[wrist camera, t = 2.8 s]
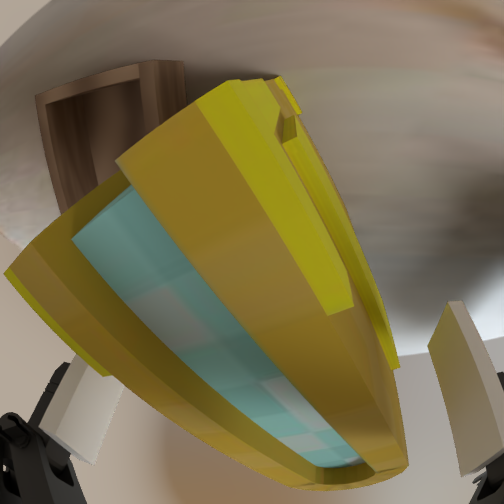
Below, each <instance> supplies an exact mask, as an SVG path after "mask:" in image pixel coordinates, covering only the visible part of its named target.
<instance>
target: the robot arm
mask: <svg viewBox="0 0 504 504" xmlns="http://www.w3.org/2000/svg"><path fill="white" fill-rule="evenodd" d="M427 347H428V350H429V353H430V355H431V359H432V362H433V365H434V368H435V371H436V374H437V377H438V381H439V384H440V387H441V391H442V394H443V398H444V402H445V405H446V409H447V413H448V417H449V421H450V425H451V429H452V434H453V438H454V443H455V448H456V453H457V457H458V463H459V468H460V474H461V477H464V476H467V475H470V474H473V473H476V472H478V471H480V470H481V469H483V468H484V467H486V472H484V473H482V474H481V475H479V476H478V477H477V478H475V479H474V481H473V484H474V483H476V482H478V481H479V480H481V481H480V482H479V483H478V484H477V485H478V487H477V489H476V491H475V493H474V495H473V497H472V499H471V501H470V503H469V504H504V373H503V372H499V373H496V371H495V368H494V366H493V364H492V361H491V359H490V357H489V354H488V352H487V350H486V348H485V346H484V343H483V341H482V339H481V337H480V335H479V333H478V331H477V329H476V327H475V325H474V323H473V321H472V319H471V317H470V315H469V313H468V311H467V309H466V307H465V305H464V303H463V301H448V302H447V304H446V307H445V309H444V311H443V314H442V316H441V318H440V320H439V323H438V325H437V327H436V329H435V331H434V333H433V335H432V337H431V340H430V342H429V344H428V346H427ZM124 387H125V385H123V384H122V383H121V382H120V381H119V380H117V379H116V378H115V377H114V376H113V375H112V376H106V377H102V376H101V375H100V374H99V373H97V372H96V371H95V370H94V369H93V368H92V367H91V366H89V365H88V364H87V363H86V362H85V361H84V360H83V359H82V358H81V357H80V356H78V355H77V354H76V355H75V357H74V358H73V360H72V362H71V363H67V362H64V363H63V364H62V365H61V366H60V367H58V368H57V369H56V370H55V372H54V374H53V376H52V377H51V379H50V383H48V385H47V387H46V388H45V392H43V394H42V396H41V398H40V400H39V402H38V404H37V406H36V408H35V410H34V412H33V414H32V416H31V418H30V420H29V421H28V423H26V422H25V421H24V420H23V419H22V418H21V417H20V416H19V415H18V414H16V413H13V412H9V413H6V414H4V415H3V416H2V417H1V418H0V504H87V502H86V500H85V497H84V495H83V492H82V490H81V487H80V484H79V482H78V479H77V476H76V473H75V470H74V467H73V464H72V462H71V460H70V458H69V457H70V454H72V455H73V456H75V457H76V458H77V459H79V460H81V461H84V462H86V463H89V464H92V465H95V462H96V459H97V457H98V454H99V451H100V448H101V445H102V443H103V440H104V437H105V435H106V432H107V429H108V427H109V424H110V422H111V419H112V417H113V414H114V412H115V409H116V406H117V404H118V401H119V399H120V396H121V394H122V392H123V389H124ZM3 465H5V466H6V471H3Z"/></svg>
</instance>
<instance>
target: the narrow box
mask: <svg viewBox="0 0 504 504" xmlns="http://www.w3.org/2000/svg"><path fill="white" fill-rule="evenodd" d="M35 100H36V107H37V114H38V120H39V125H40V131H41V136H42V141H43V146H44V151H45V155H46V160H47V164H48V168H49V172H50V176H51V180H52V184H53V188H54V191H55V195H56V199H57V202H58V205H59V209H60V212H61V215H62V214H63V213H64V212H66V211H67V210H68V209H69V208H70V207H72V206H73V205H74V204H75V203H77V202H78V201H79V200H81V199H82V198H83V197H84V196H86V195H87V194H88V193H90V192H91V191H92V190H93V189H95V188H96V187H97V186H99V185H100V184H101V183H103V182H104V181H106V180H107V179H108V178H110V177H111V176H112V175H114V174H115V173H117V172H118V171H119V170H121V169H120V168H119V166H118V165H117V163H116V162H115V160H116V159H117V158H119V157H120V156H121V155H122V154H123V153H125V152H126V151H127V150H128V149H130V148H131V147H132V146H133V145H135V144H136V143H137V142H139V141H140V140H141V139H142V138H144V137H145V136H146V135H148V134H149V133H150V132H152V131H153V130H154V129H156V128H157V127H158V126H160V125H161V124H163V123H164V122H165V121H167V120H168V119H169V118H171V117H172V116H174V115H175V114H177V113H178V112H180V111H181V110H182V109H184V108H185V107H187V99H186V88H185V77H184V64H183V61H169V60H150V61H145V62H141V63H136V64H132V65H128V66H124V67H120V68H116V69H112V70H108V71H105V72H101V73H98V74H95V75H91V76H88V77H85V78H82V79H79V80H76V81H73V82H70V83H67V84H64V85H61V86H58V87H56V88H53V89H50V90H48V91H45V92H43V93H40V94H38V95H35Z"/></svg>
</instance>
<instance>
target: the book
mask: <svg viewBox="0 0 504 504" xmlns="http://www.w3.org/2000/svg"><path fill="white" fill-rule="evenodd" d="M301 113H302V111H301V109H300V107H299V106H298V104H297V102H296V100H295V99H294V97H293V95H292V94H291V92H290V90H289V89H288V87H287V85H286V84H285V82H284V80H283V79H282V77H281V76H279V77H277V78H275V79H271V80H267V81H264V80H263V78H261V79H253V80H246V81H241V80H240V79H236V80H228V81H226V82H224V83H222V84H221V85H219V86H217V87H216V88H214V89H213V90H211V91H209V92H208V93H206V94H205V95H203V96H202V97H200V98H199V99H197V100H195V101H194V102H193V103H191V104H190V105H188V106H187V107H185V108H184V109H182V110H181V111H180V112H178V113H177V114H175V115H174V116H172V117H171V118H169V119H168V120H167V121H165V122H164V123H163V124H161V125H160V126H158V127H157V128H156V129H154V130H153V131H152V132H150V133H149V134H148V135H146V136H145V137H144V138H142V139H141V140H140V141H139V142H137V143H136V144H135V145H133V146H132V147H131V148H130V149H128V150H127V151H126V152H125V153H123V154H122V155H121V156H120V157H119V158H117V159H116V160H115V162H116V163H117V165H118V166H119V168H120V169H121V170H119V171H118V172H117V173H115V174H114V175H112V176H111V177H110V178H108V179H107V180H106V181H104V182H103V183H101V184H100V185H99V186H97V187H96V188H95V189H93V190H92V191H91V192H90V193H88V194H87V195H86V196H84V197H83V198H82V199H81V200H79V201H78V202H77V203H75V204H74V205H73V206H72V207H70V208H69V209H68V210H67V211H66V212H64V213H63V214H62V215H61V216H60V217H58V218H57V219H56V220H55V221H54V222H52V223H51V224H50V225H49V226H48V227H47V228H46V229H44V230H43V231H42V232H41V233H40V234H39V235H38V236H37V237H35V238H34V239H33V240H32V241H31V242H30V243H29V244H28V245H27V246H26V248H25V249H24V250H23V251H22V252H21V253H20V255H19V256H18V257H17V258H16V259H15V261H14V262H13V263H12V264H11V265H10V266H9V268H8V269H7V270H6V271H5V272H4V275H5V276H6V277H7V279H8V280H9V281H10V283H11V284H12V285H13V286H14V287H15V289H16V290H17V291H18V292H19V294H20V295H21V296H22V297H23V298H24V300H25V301H26V302H27V303H28V304H29V305H30V306H31V308H32V309H33V310H34V311H35V312H36V313H37V314H38V315H39V316H40V317H41V318H42V320H43V321H44V322H45V323H46V324H47V325H48V326H49V327H50V328H51V329H52V330H53V331H54V332H55V333H56V334H57V335H58V336H59V337H60V338H61V339H62V340H63V341H64V342H65V343H66V344H67V345H68V346H69V347H70V348H71V349H72V350H73V351H74V352H75V353H76V354H77V355H78V356H80V357H81V358H82V359H83V360H84V361H85V362H86V363H87V364H88V365H89V366H91V367H92V368H93V369H94V370H95V371H96V372H97V373H99V374H100V375H101V376H102V377H106V376H112V375H113V376H114V377H115V378H116V379H117V380H119V381H120V382H121V383H122V384H123V385H125V386H126V387H127V388H128V389H130V390H131V391H132V392H133V393H135V394H136V395H137V396H138V397H140V398H141V399H142V400H144V401H145V402H147V403H148V404H149V405H150V406H152V407H153V408H155V409H156V410H157V411H159V412H160V413H161V414H163V415H164V416H165V417H167V418H168V419H170V420H171V421H173V422H174V423H176V424H177V425H179V426H180V427H181V428H183V429H184V430H186V431H188V432H189V433H191V434H192V435H194V436H195V437H197V438H198V439H200V440H202V441H203V442H205V443H207V444H208V445H210V446H211V447H213V448H215V449H216V450H218V451H220V452H222V453H223V454H225V455H227V456H229V457H230V458H232V459H234V460H236V461H238V462H239V463H241V464H243V465H245V466H247V467H249V468H251V469H253V470H255V471H257V472H259V473H261V474H263V475H265V476H267V477H269V478H271V479H273V480H275V481H277V482H279V483H282V484H284V485H286V486H288V487H291V488H297V489H302V490H312V491H334V490H346V489H353V488H359V487H364V486H369V485H372V484H376V483H379V482H382V481H385V480H388V479H390V478H392V477H394V476H396V475H398V474H400V473H402V472H403V471H404V470H405V469H406V468H407V467H408V466H409V463H408V455H407V447H406V440H405V433H404V427H403V421H402V415H401V409H400V403H399V398H398V393H397V387H396V382H395V378H394V373H393V370H394V369H397V368H400V364H399V360H398V356H397V352H396V348H395V344H394V340H393V336H392V332H391V329H390V325H389V322H388V318H387V315H386V311H385V308H384V304H383V301H382V299H381V296H380V293H379V291H378V288H377V286H376V283H375V281H374V278H373V276H372V273H371V271H370V268H369V266H368V263H367V261H366V259H365V256H364V254H363V251H362V249H361V247H360V245H359V242H358V240H357V238H356V235H355V232H354V229H353V226H352V224H351V221H350V218H349V215H348V212H347V209H346V207H345V205H344V203H343V201H342V199H341V197H340V195H339V192H338V190H337V188H336V186H335V184H334V182H333V180H332V178H331V176H330V174H329V172H328V170H327V168H326V166H325V164H324V162H323V160H322V158H321V156H320V155H319V153H318V151H317V149H316V147H315V145H314V143H313V141H312V139H311V138H310V136H309V134H308V132H307V130H306V129H305V127H304V125H303V123H302V121H301V120H300V118H299V116H298V115H299V114H301Z"/></svg>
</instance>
